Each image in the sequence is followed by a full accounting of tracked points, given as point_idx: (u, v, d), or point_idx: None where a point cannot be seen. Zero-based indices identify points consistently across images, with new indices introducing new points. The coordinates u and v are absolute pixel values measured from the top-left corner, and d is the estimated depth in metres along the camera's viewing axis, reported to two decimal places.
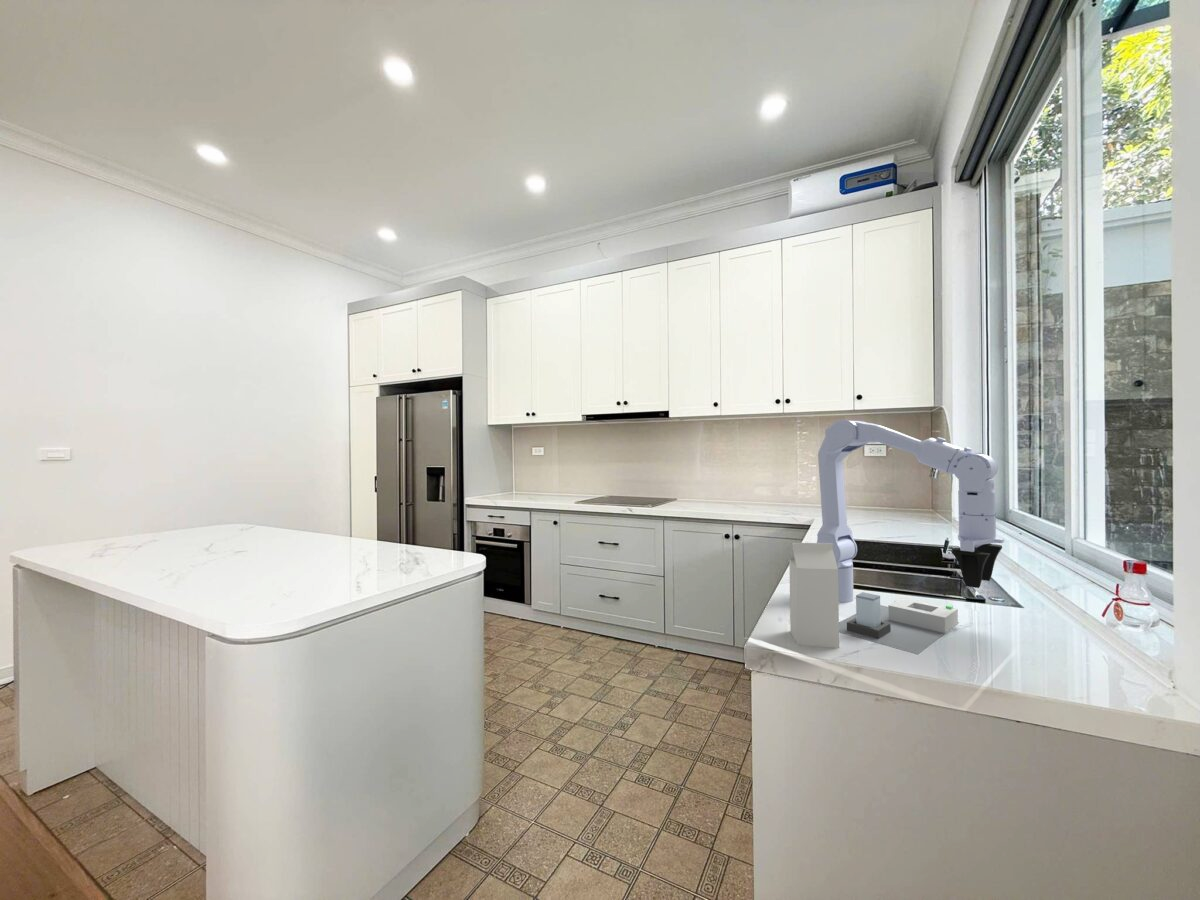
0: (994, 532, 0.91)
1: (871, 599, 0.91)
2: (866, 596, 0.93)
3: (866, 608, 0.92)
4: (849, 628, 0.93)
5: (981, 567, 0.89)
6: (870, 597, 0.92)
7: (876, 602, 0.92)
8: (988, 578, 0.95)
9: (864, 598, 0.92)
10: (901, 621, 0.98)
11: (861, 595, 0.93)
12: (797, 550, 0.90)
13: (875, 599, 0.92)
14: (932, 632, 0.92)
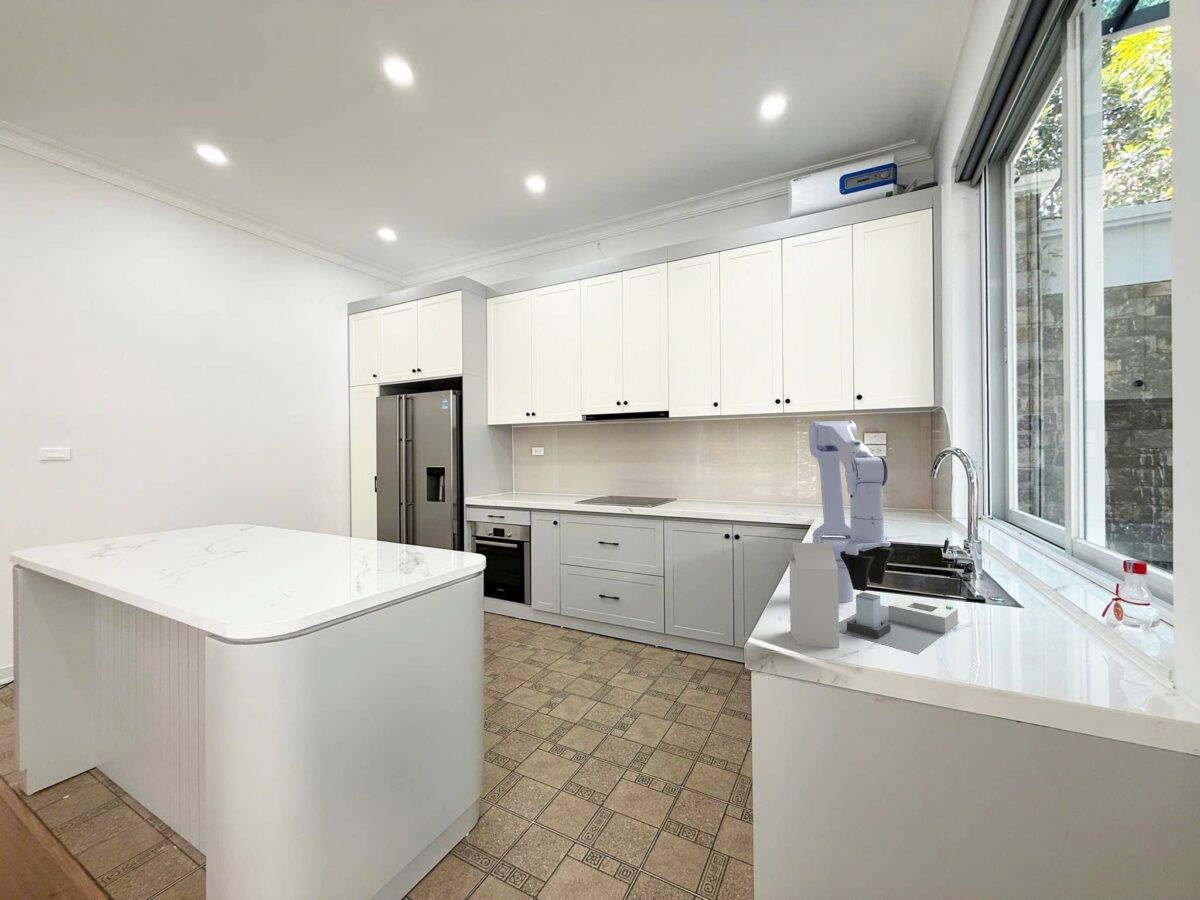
0: (881, 535, 0.91)
1: (871, 599, 0.91)
2: (866, 596, 0.93)
3: (866, 608, 0.92)
4: (849, 628, 0.93)
5: (865, 571, 0.89)
6: (870, 597, 0.92)
7: (876, 602, 0.92)
8: (880, 581, 0.95)
9: (864, 598, 0.92)
10: (901, 621, 0.98)
11: (861, 595, 0.93)
12: (797, 550, 0.90)
13: (875, 599, 0.92)
14: (932, 632, 0.92)
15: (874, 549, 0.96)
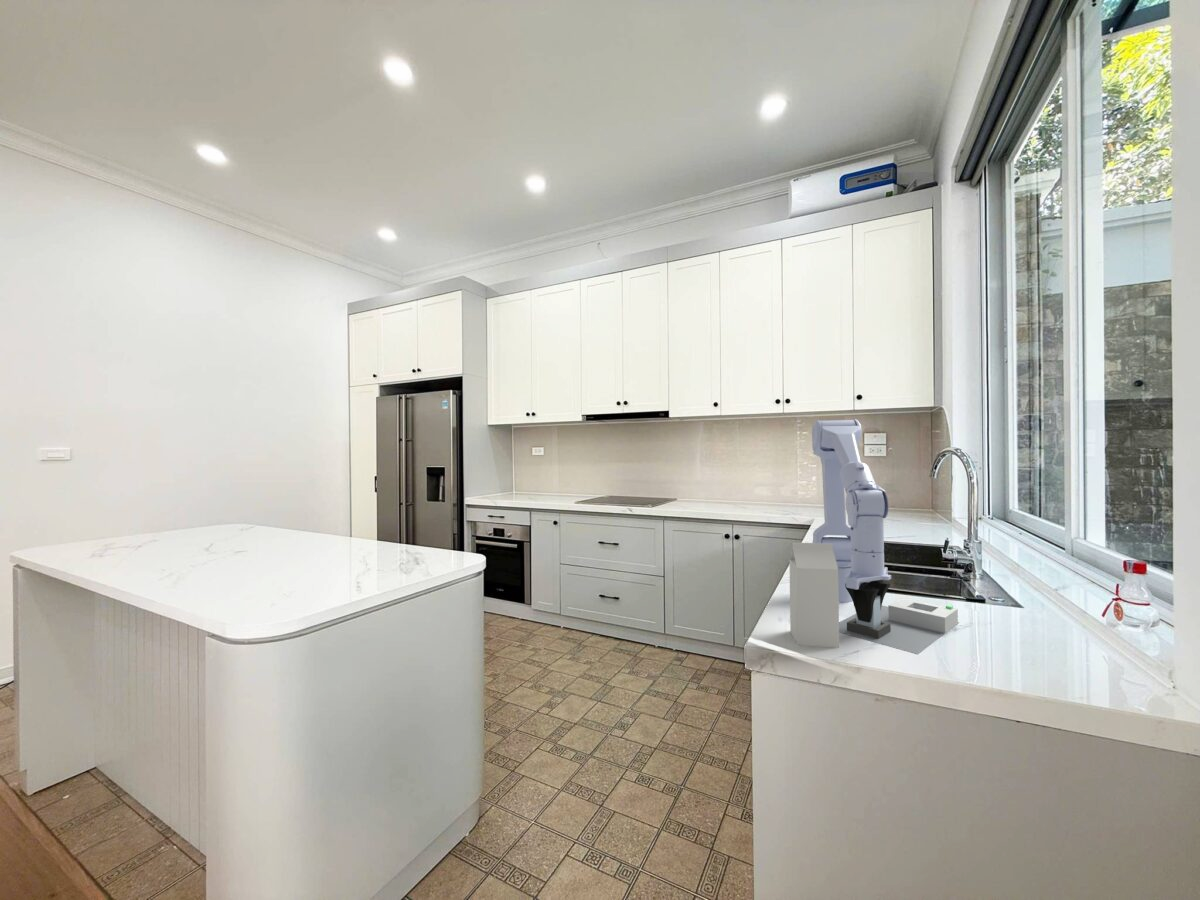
0: (881, 568, 0.91)
1: None
2: None
3: None
4: (849, 628, 0.93)
5: (870, 602, 0.90)
6: None
7: (876, 602, 0.92)
8: None
9: None
10: (901, 621, 0.98)
11: None
12: (797, 550, 0.90)
13: (875, 599, 0.92)
14: (932, 632, 0.92)
15: (871, 582, 0.95)
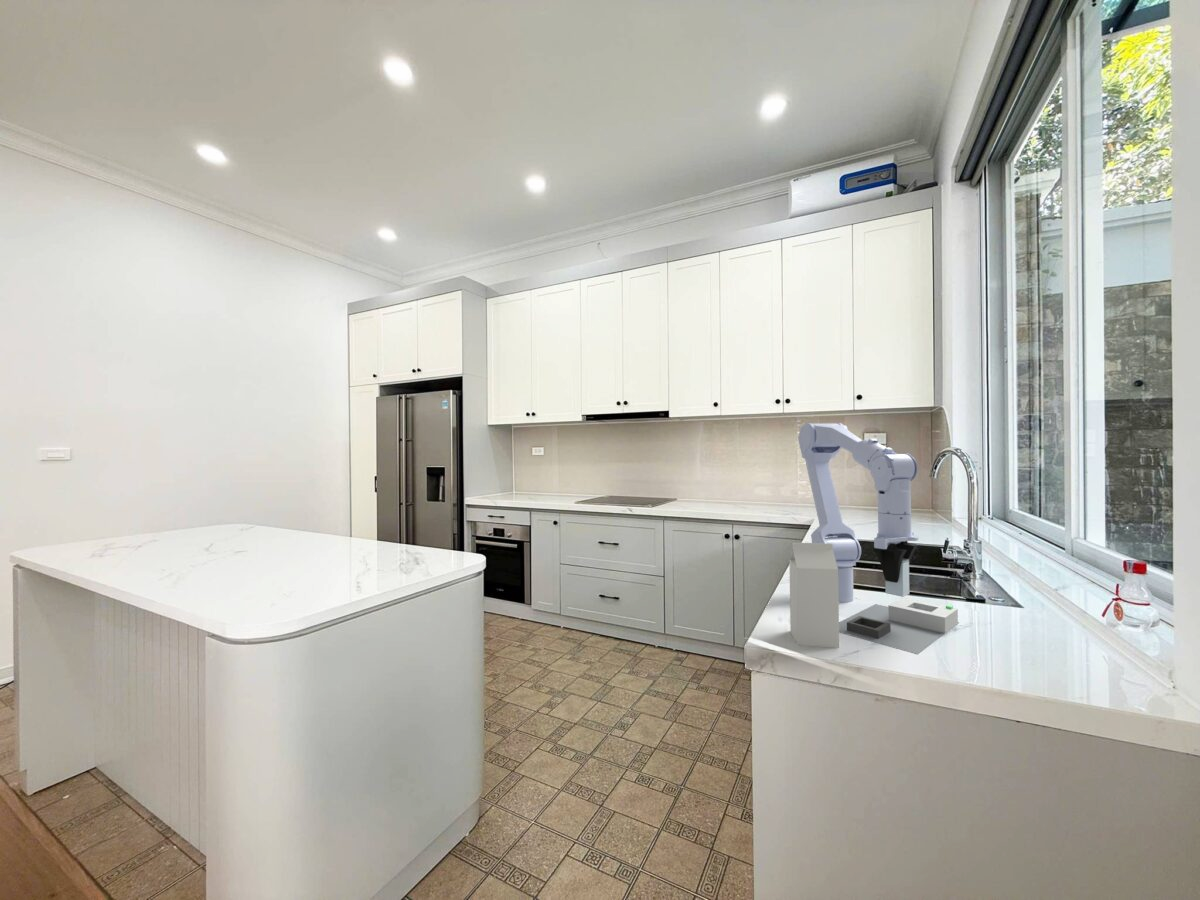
0: (909, 530, 0.93)
1: None
2: None
3: None
4: (849, 628, 0.93)
5: (898, 563, 0.93)
6: None
7: (905, 565, 0.94)
8: None
9: None
10: (901, 621, 0.98)
11: None
12: (797, 550, 0.90)
13: (904, 562, 0.94)
14: (932, 632, 0.92)
15: (897, 545, 0.97)
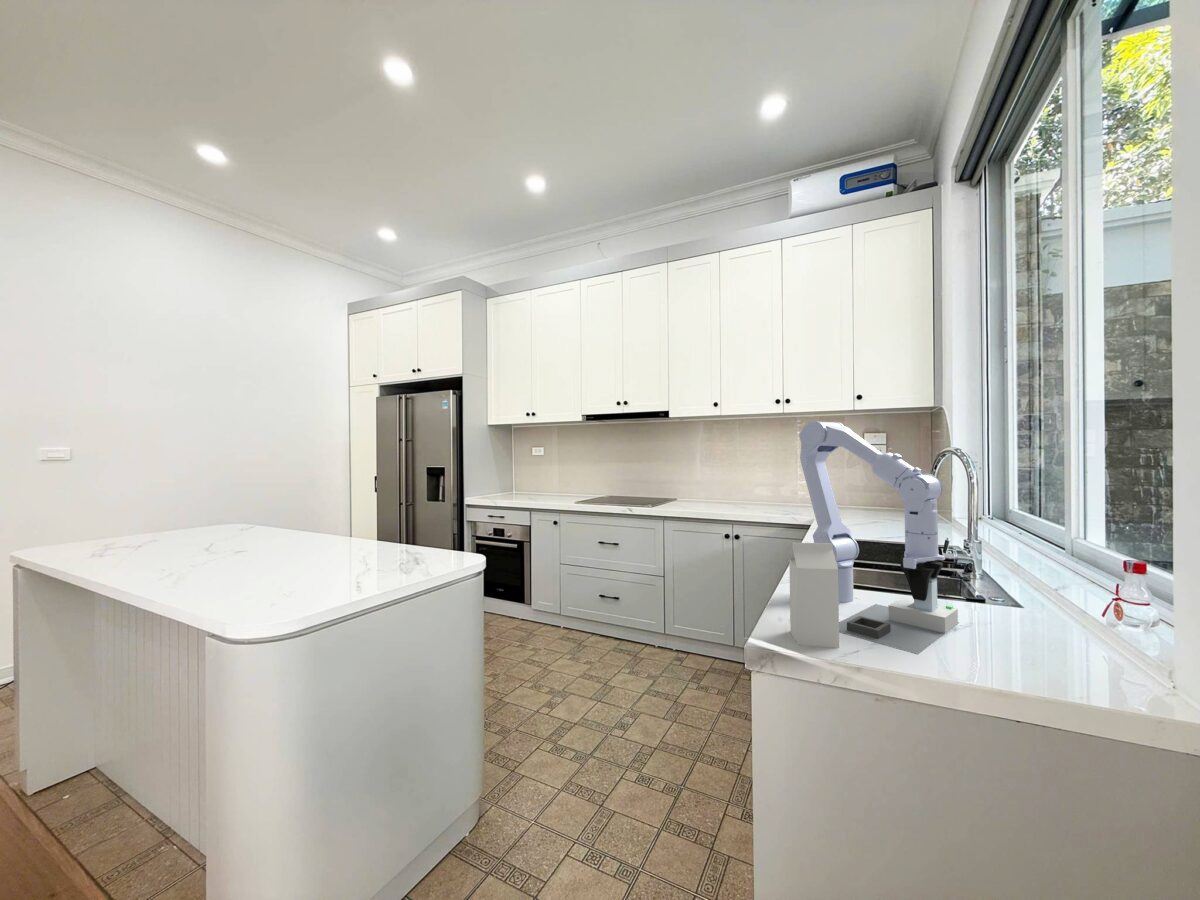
0: (936, 549, 0.96)
1: (929, 581, 0.96)
2: None
3: None
4: (849, 628, 0.93)
5: (926, 582, 0.95)
6: None
7: (934, 584, 0.96)
8: None
9: None
10: (901, 621, 0.98)
11: None
12: (797, 550, 0.90)
13: (933, 581, 0.96)
14: (932, 632, 0.92)
15: (924, 563, 0.99)
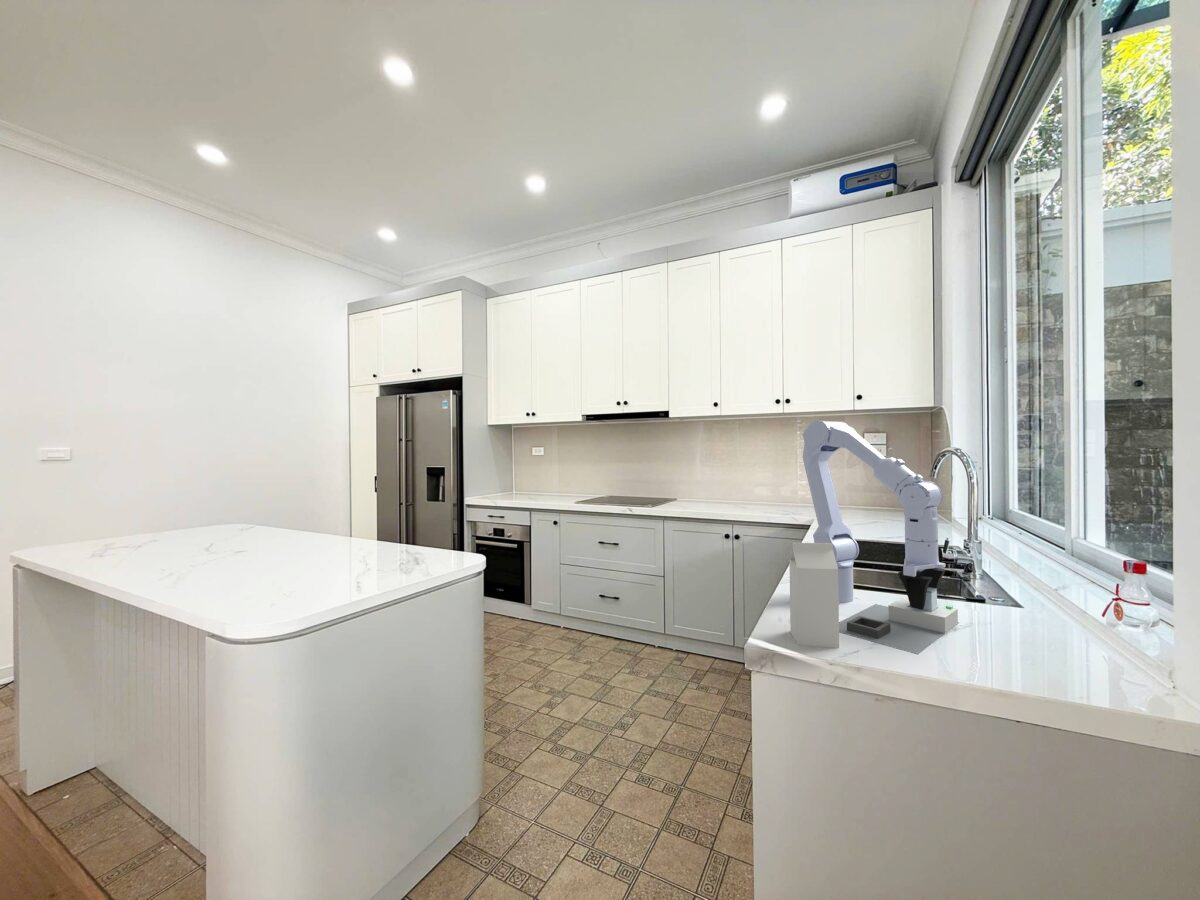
0: (936, 557, 0.96)
1: (929, 591, 0.96)
2: None
3: None
4: (849, 628, 0.93)
5: (924, 590, 0.94)
6: (928, 590, 0.97)
7: (933, 594, 0.97)
8: None
9: None
10: (901, 621, 0.98)
11: None
12: (797, 550, 0.90)
13: (933, 592, 0.96)
14: (932, 632, 0.92)
15: (926, 570, 1.00)
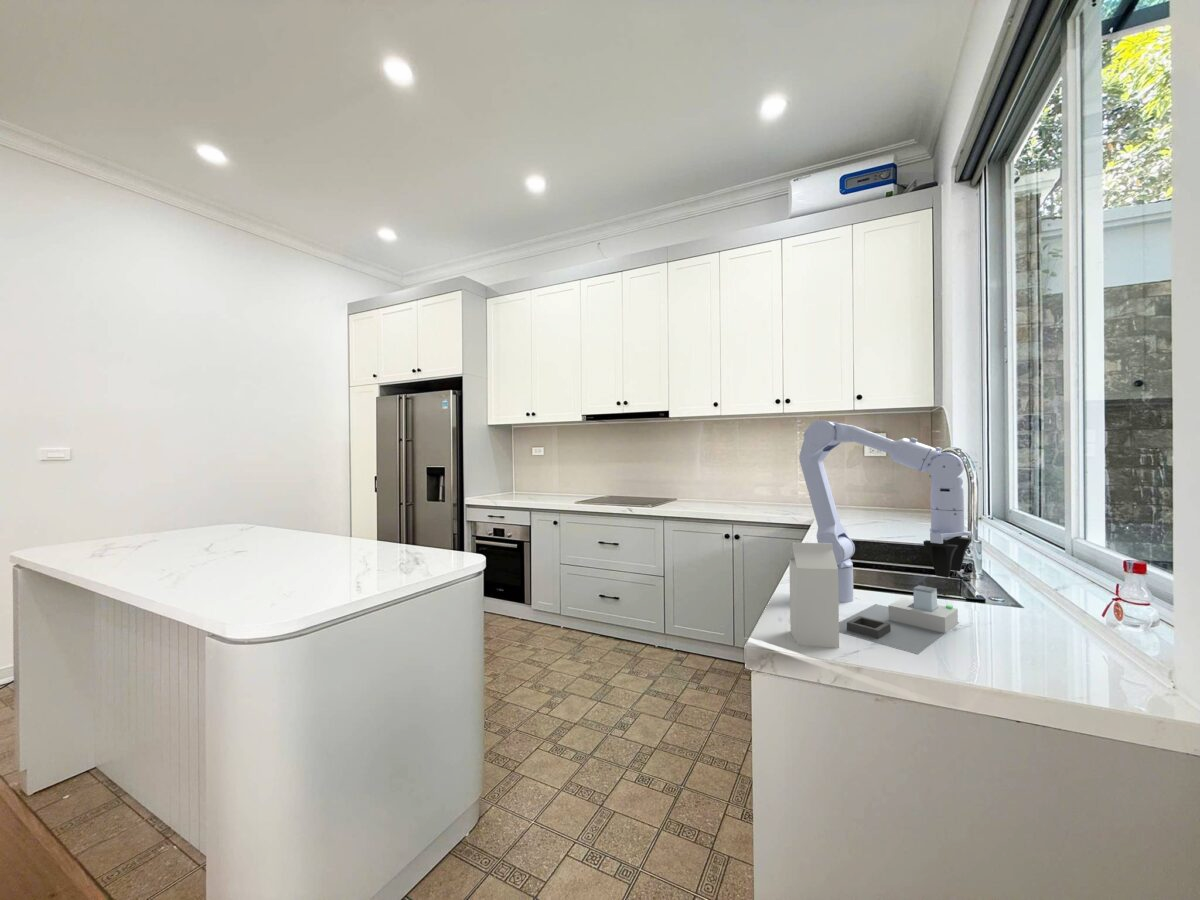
0: (962, 525, 0.98)
1: (929, 591, 0.96)
2: (924, 589, 0.97)
3: (924, 600, 0.97)
4: (849, 628, 0.93)
5: (950, 558, 0.96)
6: (928, 590, 0.97)
7: (933, 594, 0.97)
8: (958, 569, 1.02)
9: (922, 591, 0.97)
10: (901, 621, 0.98)
11: (918, 588, 0.98)
12: (797, 550, 0.90)
13: (933, 592, 0.96)
14: (932, 632, 0.92)
15: (952, 539, 1.03)
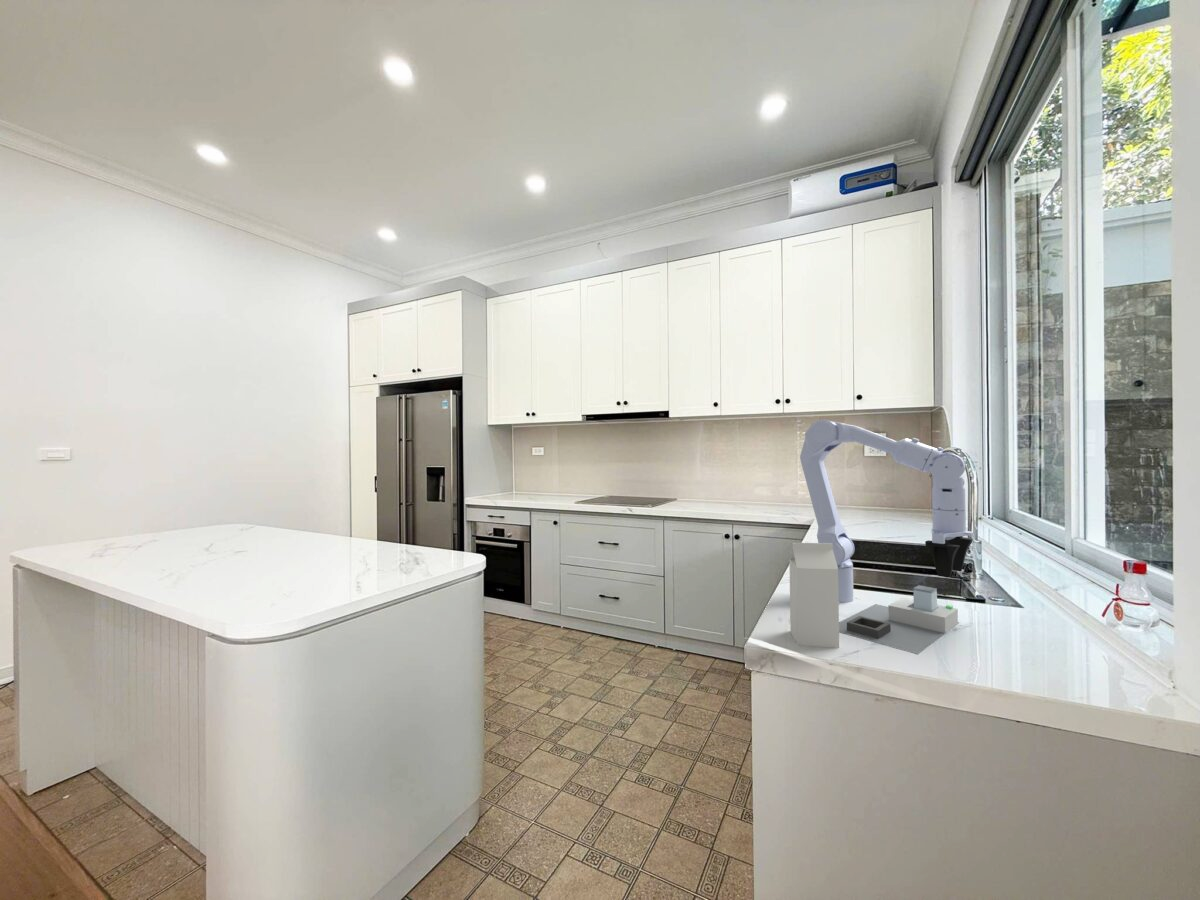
0: (964, 525, 0.98)
1: (929, 591, 0.96)
2: (924, 589, 0.97)
3: (924, 600, 0.97)
4: (849, 628, 0.93)
5: (951, 558, 0.96)
6: (928, 590, 0.97)
7: (933, 594, 0.97)
8: (960, 569, 1.02)
9: (922, 591, 0.97)
10: (901, 621, 0.98)
11: (918, 588, 0.98)
12: (797, 550, 0.90)
13: (933, 592, 0.96)
14: (932, 632, 0.92)
15: (954, 539, 1.03)
